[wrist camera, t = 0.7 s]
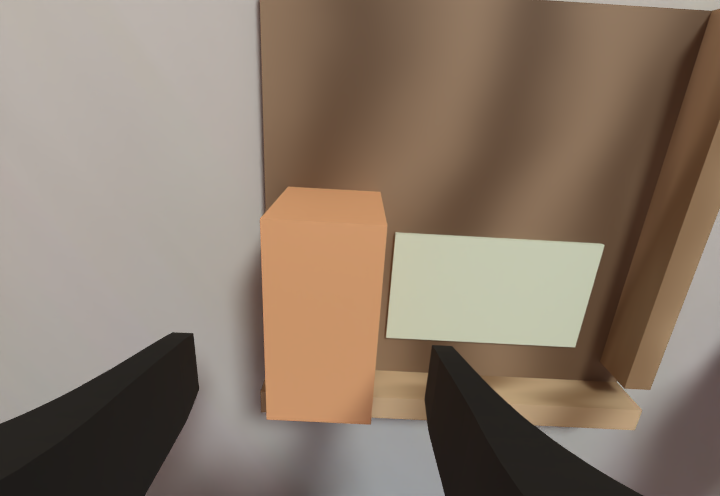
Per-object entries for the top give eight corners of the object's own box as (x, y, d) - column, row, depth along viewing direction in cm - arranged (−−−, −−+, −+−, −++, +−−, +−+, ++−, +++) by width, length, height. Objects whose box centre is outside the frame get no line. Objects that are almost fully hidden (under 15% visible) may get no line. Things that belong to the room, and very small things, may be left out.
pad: (602, 243, 18) (604, 245, 18) (572, 345, 20) (575, 347, 20) (395, 232, 18) (395, 233, 18) (385, 335, 20) (386, 337, 19)
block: (288, 186, 17) (259, 218, 12) (380, 191, 17) (387, 225, 12) (289, 344, 20) (266, 419, 15) (368, 348, 20) (370, 424, 15)
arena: (729, 16, 15) (799, 0, 13) (603, 392, 21) (634, 429, 19) (262, -14, 15) (244, -37, 13) (272, 376, 21) (261, 412, 19)
